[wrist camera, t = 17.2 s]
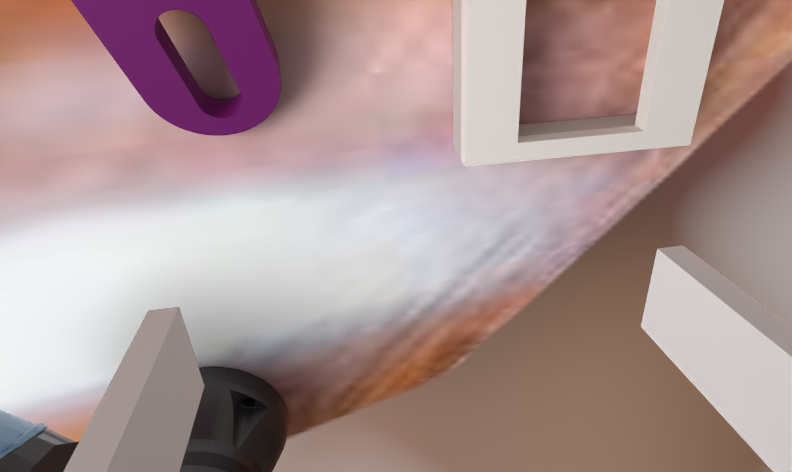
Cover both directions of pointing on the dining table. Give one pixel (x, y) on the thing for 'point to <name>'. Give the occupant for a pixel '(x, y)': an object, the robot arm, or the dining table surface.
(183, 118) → the mounting bracket
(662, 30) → the keyhole plate
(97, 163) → the dining table surface
